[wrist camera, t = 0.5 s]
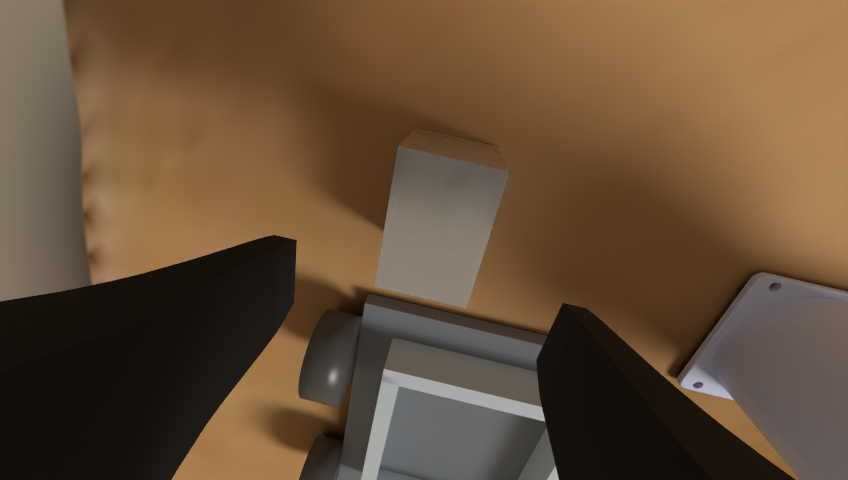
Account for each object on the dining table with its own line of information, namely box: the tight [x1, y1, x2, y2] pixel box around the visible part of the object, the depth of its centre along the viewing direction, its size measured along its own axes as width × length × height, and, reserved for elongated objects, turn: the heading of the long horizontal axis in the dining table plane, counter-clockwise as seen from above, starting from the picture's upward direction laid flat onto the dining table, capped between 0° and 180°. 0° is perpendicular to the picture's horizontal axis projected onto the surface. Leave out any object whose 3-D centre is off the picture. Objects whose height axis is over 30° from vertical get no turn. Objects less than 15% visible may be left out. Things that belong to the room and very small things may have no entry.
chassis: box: [298, 293, 559, 480], centre depth 22 cm, size 20×18×5 cm
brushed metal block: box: [375, 128, 510, 309], centre depth 15 cm, size 4×6×5 cm, turn 168°
